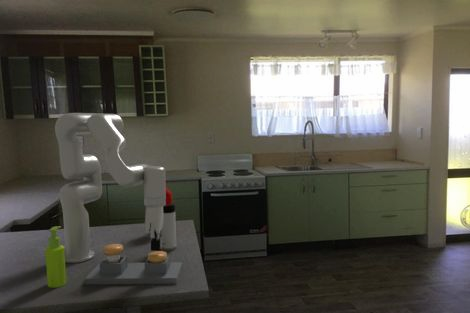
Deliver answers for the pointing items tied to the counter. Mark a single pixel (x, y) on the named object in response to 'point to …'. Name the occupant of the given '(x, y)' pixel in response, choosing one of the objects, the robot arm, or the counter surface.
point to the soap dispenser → (55, 261)
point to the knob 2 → (157, 257)
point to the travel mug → (168, 228)
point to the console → (135, 272)
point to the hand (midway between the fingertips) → (155, 249)
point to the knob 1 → (113, 252)
